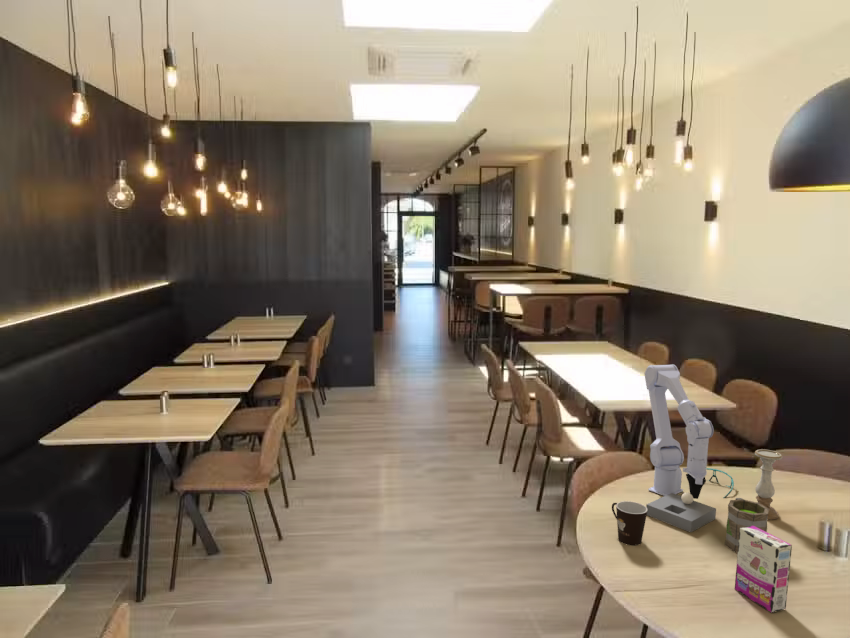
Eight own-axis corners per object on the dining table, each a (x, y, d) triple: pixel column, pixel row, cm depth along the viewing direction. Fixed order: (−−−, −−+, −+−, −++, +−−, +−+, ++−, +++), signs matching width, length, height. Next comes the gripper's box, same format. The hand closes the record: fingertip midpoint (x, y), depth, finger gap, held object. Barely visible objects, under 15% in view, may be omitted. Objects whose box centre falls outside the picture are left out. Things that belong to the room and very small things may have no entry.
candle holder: (776, 522, 197) (782, 460, 194) (745, 514, 202) (750, 453, 199) (780, 513, 204) (786, 452, 201) (750, 505, 209) (755, 446, 206)
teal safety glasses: (735, 485, 226) (736, 472, 225) (729, 504, 214) (730, 490, 213) (693, 477, 234) (694, 464, 233) (685, 494, 221) (686, 481, 220)
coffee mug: (649, 547, 179) (651, 514, 178) (618, 547, 180) (621, 513, 178) (636, 528, 191) (638, 497, 190) (608, 528, 191) (609, 496, 190)
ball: (684, 500, 204) (685, 489, 203) (694, 504, 201) (695, 493, 201) (678, 503, 202) (679, 492, 201) (689, 506, 199) (690, 496, 198)
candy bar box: (787, 609, 150) (793, 544, 148) (771, 614, 149) (777, 548, 146) (748, 585, 161) (753, 524, 159) (733, 589, 159) (738, 527, 157)
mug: (771, 558, 175) (775, 517, 173) (729, 554, 177) (733, 513, 175) (754, 532, 190) (757, 494, 188) (715, 528, 192) (718, 490, 190)
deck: (671, 502, 210) (671, 492, 210) (715, 519, 199) (716, 508, 198) (645, 514, 201) (646, 504, 200) (690, 532, 189) (691, 521, 189)
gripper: (681, 448, 210) (678, 487, 212) (686, 463, 196) (683, 505, 198) (704, 450, 208) (701, 490, 210) (711, 466, 194) (707, 508, 196)
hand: (694, 497), depth 204 cm, fingers closed
